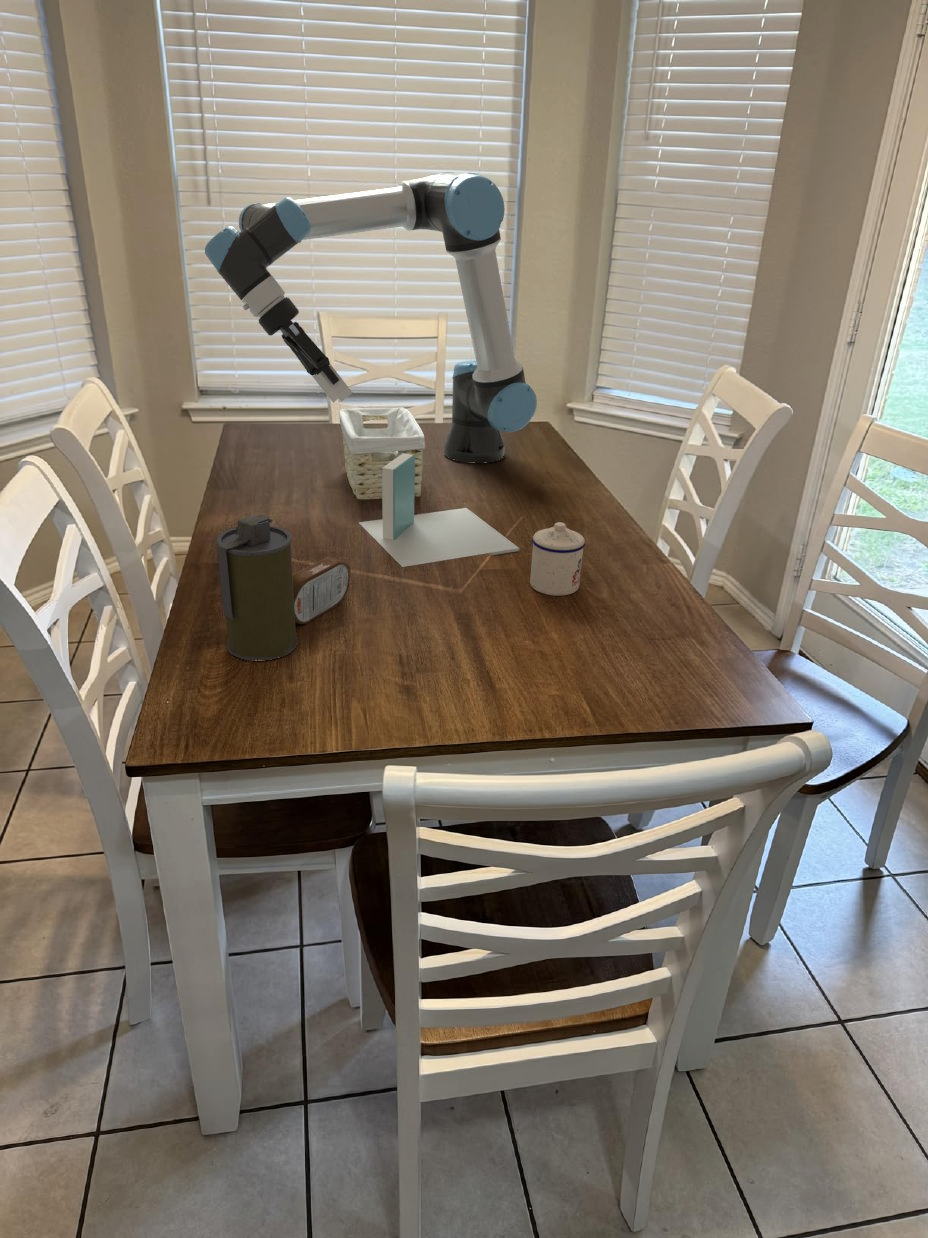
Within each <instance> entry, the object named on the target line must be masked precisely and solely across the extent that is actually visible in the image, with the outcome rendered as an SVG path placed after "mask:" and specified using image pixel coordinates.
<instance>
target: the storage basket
mask: <svg viewBox="0 0 928 1238" xmlns="http://www.w3.org/2000/svg"><path fill="white" fill-rule="evenodd" d="M338 415H339V423H340V428H341V433H342V440H343V441H342V443H343V454H344V461H345V464H344V467H345V471H346V478H347V479H348V483H349V485H350V487H351V490H352V493H353V495H354V496H355V497H356V499H357V500H375V499H376V500H377V499H379V500H380V499H382V468H383V467H384V466H386V465H387V464H388V463H390V462H391V461H393V460H394V459H396V458H397V457H398V456H400V455H401V454H403V453H405V454H412V455H415V493H414V497H417V498H418V497H421V496H422V495H421V494H422V493H421V492H422V484H421V483H422V481H423V476H422V474H423V471H424V469H423V459H424V455H423V454H424V450H425V449H426V441H425V435H424V432H423V430H422V428H421V427H420V425H419V424H418V422H417V421H416V419H415V417H414V416H413V414H412V412H410V411H409V410H408V409H407V408H405V407H404V406H401V407H400V406H399V407H358V408H357V407H355V408H342V409H340V410H339V413H338ZM381 420H383V421H385V420H386V421H387V427H381V428H367V427H364V421H381Z"/></svg>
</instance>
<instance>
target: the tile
mask: <svg viewBox="0 0 928 1238" xmlns="http://www.w3.org/2000/svg"><path fill="white" fill-rule="evenodd" d="M414 493H415V455H412V454H405V453H403V454H401V455H400V456H398V457H397V458H396V459H394V460H393V461H391V462H390V463H388V464H387V465H386V466H384V467H383V468H382V498H381V499H382V502H381V503H382V506H381V507H382V508H381V509H382V514H381V515H382V519H383V538H386V539H392V540H395V539H396V538H397V537H398V536H400V535H401V534H402V533H403V532H404V531H405V530H406V529H407V528H409V527H410V526H411V525H412V524H413V523H414V515H415V496H414Z"/></svg>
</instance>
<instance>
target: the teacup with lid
mask: <svg viewBox="0 0 928 1238" xmlns="http://www.w3.org/2000/svg"><path fill="white" fill-rule="evenodd" d="M531 542H532V552H531V568H530V569H531V570H530V579H529V580H530V581H529V583H530V586H531V587H532V589H534V590H535V591H536V592H538V593H541V594H544V595H548V596H556V597H557V596H558V597H559V596H560V597H561V596H567V595H568V596H569V595H571V594H574V593H575V592H577V591H578V590H579V589H580V582H581V572H582V566H583V565H582V564H583V553H584V548H585V547H586V541H585V538H584V537H583V535H582V534H580V533H579V532H577V531H575V530H572V529H569V528H568V527H567V525H566V523H564V522H560V521H559V522H556V523H554V525H553V526H552V527H548V528H543V529H539V530H537V531H536V532H535V533H534V534H533V536H532V539H531Z"/></svg>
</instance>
